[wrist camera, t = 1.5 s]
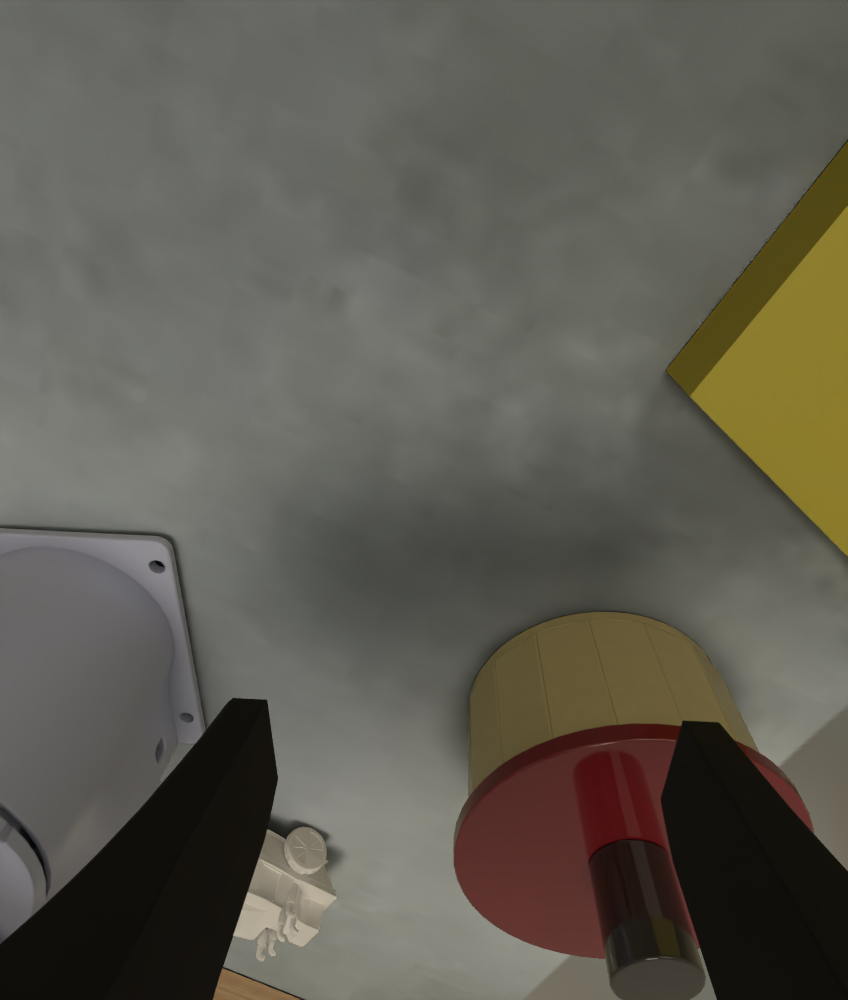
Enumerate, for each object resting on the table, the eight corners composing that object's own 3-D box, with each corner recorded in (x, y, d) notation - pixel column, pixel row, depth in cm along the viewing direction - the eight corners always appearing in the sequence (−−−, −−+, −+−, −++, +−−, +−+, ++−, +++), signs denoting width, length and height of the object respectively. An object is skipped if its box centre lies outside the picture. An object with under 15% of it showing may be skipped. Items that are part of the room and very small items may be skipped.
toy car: (302, 894, 31) (283, 992, 28) (146, 831, 30) (103, 927, 26) (352, 843, 29) (337, 941, 26) (188, 772, 28) (147, 867, 24)
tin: (688, 798, 27) (739, 940, 22) (461, 785, 27) (462, 922, 22) (750, 618, 23) (829, 746, 18) (477, 604, 23) (482, 727, 18)
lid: (744, 931, 23) (802, 1090, 19) (445, 913, 23) (443, 1066, 19) (845, 716, 18) (951, 871, 14) (463, 694, 18) (465, 842, 14)
